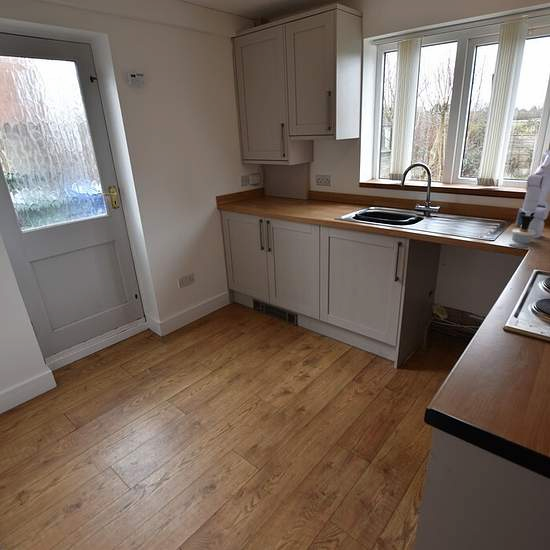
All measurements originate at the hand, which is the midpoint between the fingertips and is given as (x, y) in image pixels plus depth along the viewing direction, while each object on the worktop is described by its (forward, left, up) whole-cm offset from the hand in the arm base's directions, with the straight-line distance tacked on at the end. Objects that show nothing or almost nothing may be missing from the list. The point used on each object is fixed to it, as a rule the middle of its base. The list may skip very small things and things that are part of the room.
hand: (524, 227), depth 184 cm
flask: (-30, -14, -7) cm, 34 cm away
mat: (+11, +4, -7) cm, 13 cm away
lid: (0, 0, -2) cm, 2 cm away
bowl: (0, 0, -7) cm, 7 cm away
